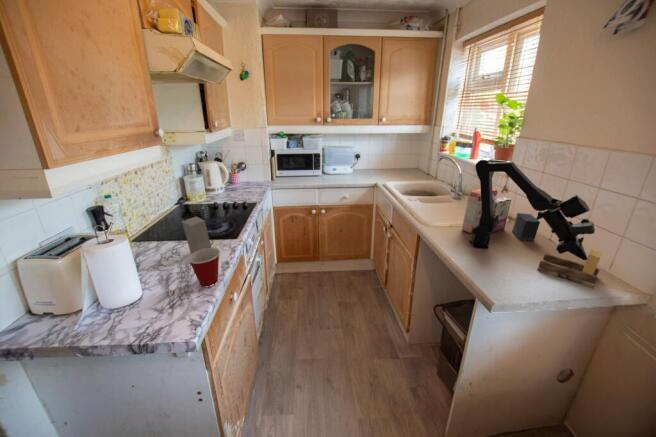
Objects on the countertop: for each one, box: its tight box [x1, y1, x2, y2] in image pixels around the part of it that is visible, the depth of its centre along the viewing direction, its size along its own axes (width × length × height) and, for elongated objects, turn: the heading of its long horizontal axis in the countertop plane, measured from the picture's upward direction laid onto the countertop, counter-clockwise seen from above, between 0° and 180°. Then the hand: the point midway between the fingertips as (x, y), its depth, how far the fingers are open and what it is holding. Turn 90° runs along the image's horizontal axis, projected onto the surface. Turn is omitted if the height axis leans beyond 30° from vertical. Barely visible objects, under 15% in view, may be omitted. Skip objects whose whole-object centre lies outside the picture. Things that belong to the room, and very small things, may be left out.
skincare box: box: [181, 216, 212, 254], centre depth 122 cm, size 8×7×16 cm
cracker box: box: [461, 188, 499, 234], centre depth 145 cm, size 14×6×21 cm, turn 118°
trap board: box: [536, 252, 600, 289], centre depth 112 cm, size 17×11×4 cm, turn 45°
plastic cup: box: [186, 247, 221, 287], centre depth 103 cm, size 11×11×12 cm
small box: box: [511, 212, 541, 243], centre depth 140 cm, size 11×6×10 cm, turn 168°
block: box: [582, 248, 603, 276], centre depth 106 cm, size 3×6×9 cm, turn 135°
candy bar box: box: [489, 196, 512, 234], centre depth 146 cm, size 11×5×16 cm, turn 116°
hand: (585, 259), depth 107 cm, fingers closed, pressing on block
